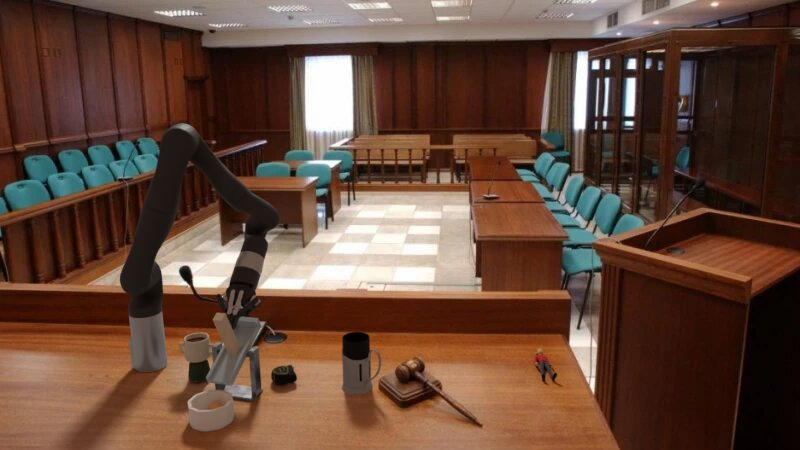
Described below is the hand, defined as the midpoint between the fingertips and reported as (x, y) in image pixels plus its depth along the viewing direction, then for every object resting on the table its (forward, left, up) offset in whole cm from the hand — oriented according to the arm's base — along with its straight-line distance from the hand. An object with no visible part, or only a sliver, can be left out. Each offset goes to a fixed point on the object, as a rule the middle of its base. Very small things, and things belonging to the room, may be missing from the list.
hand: (229, 329), depth 168 cm
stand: (0, +2, -20) cm, 20 cm away
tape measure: (+10, +13, -20) cm, 26 cm away
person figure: (+81, +38, -20) cm, 92 cm away
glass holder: (+33, +12, -20) cm, 41 cm away
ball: (0, -10, -19) cm, 21 cm away
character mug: (-15, +7, -20) cm, 26 cm away
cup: (0, -12, -20) cm, 23 cm away
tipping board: (0, +2, -8) cm, 8 cm away
